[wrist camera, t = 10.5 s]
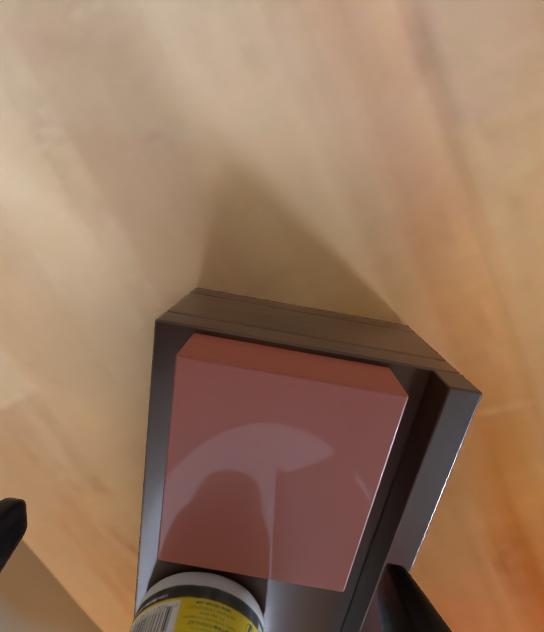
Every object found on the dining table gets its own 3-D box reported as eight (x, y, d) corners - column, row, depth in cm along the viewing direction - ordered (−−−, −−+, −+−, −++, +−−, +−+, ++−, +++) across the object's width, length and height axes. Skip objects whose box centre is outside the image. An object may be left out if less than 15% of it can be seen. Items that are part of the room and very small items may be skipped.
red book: (389, 367, 11) (409, 395, 9) (336, 542, 13) (344, 593, 11) (192, 331, 11) (173, 354, 9) (172, 513, 13) (154, 560, 11)
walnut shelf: (408, 325, 15) (483, 393, 9) (317, 616, 21) (329, 772, 15) (196, 287, 15) (137, 331, 9) (164, 589, 21) (115, 735, 15)
